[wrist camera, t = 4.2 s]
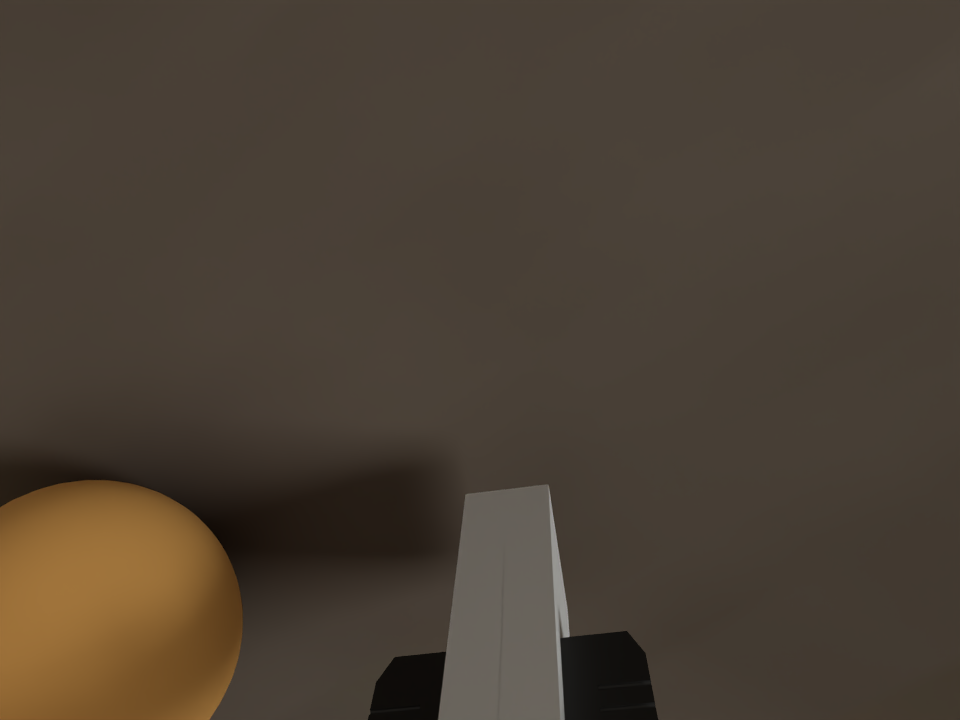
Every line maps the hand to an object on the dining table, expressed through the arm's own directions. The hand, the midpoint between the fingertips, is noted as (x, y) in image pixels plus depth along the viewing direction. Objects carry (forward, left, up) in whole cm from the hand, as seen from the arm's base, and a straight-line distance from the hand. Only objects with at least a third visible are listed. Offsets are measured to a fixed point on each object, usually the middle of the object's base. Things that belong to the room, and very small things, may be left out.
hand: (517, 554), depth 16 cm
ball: (0, +8, +1) cm, 8 cm away
